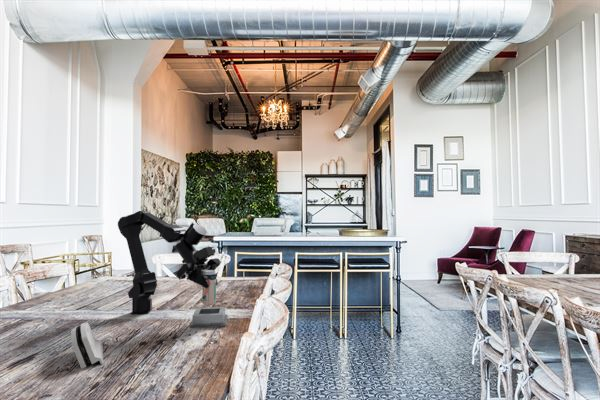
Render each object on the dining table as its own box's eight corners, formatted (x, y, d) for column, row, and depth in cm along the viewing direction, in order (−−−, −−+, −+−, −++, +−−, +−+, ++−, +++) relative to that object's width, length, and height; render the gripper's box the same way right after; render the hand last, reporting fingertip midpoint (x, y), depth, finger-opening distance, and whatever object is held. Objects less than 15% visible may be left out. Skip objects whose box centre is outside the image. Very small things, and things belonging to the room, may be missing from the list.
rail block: (189, 328, 129) (189, 316, 129) (194, 318, 141) (194, 307, 141) (225, 326, 131) (225, 314, 131) (227, 317, 143) (227, 306, 143)
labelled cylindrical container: (200, 303, 137) (201, 270, 137) (213, 301, 139) (214, 269, 140) (204, 306, 133) (204, 272, 133) (217, 304, 135) (218, 271, 136)
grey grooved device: (103, 364, 98) (89, 330, 97) (83, 374, 96) (68, 339, 95) (102, 345, 113) (90, 314, 112) (85, 353, 111) (72, 322, 109)
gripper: (183, 240, 130) (208, 275, 125) (217, 237, 147) (240, 267, 142) (165, 262, 133) (189, 296, 128) (201, 256, 150) (223, 286, 145)
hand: (212, 286), depth 136 cm, fingers closed on labelled cylindrical container, 5 cm apart
